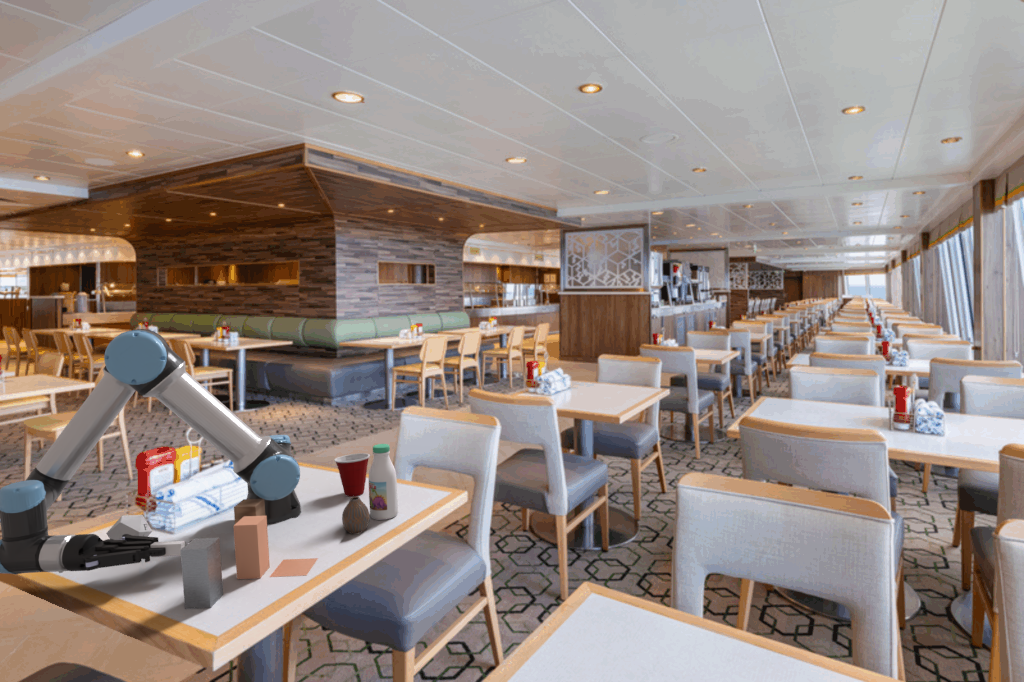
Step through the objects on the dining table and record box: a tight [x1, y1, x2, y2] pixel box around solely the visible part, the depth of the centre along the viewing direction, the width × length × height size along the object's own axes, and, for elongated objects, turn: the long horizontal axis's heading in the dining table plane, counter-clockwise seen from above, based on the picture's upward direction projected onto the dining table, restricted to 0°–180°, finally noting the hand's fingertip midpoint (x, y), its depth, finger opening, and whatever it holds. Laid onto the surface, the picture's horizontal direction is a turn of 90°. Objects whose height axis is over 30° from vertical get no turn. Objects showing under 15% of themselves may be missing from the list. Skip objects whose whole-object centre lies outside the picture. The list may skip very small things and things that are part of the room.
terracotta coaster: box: [269, 557, 319, 578], centre depth 124 cm, size 8×8×1 cm
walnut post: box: [233, 498, 265, 525], centre depth 132 cm, size 5×5×12 cm
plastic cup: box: [333, 453, 371, 498], centre depth 173 cm, size 11×11×12 cm
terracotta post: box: [233, 516, 271, 580], centre depth 122 cm, size 5×5×12 cm
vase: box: [341, 496, 370, 535], centre depth 145 cm, size 7×7×9 cm
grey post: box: [180, 537, 224, 610], centre depth 110 cm, size 5×5×12 cm
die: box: [106, 514, 153, 540], centre depth 139 cm, size 8×9×10 cm
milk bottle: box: [368, 443, 399, 521], centre depth 154 cm, size 8×8×20 cm
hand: (183, 548), depth 121 cm, fingers closed
